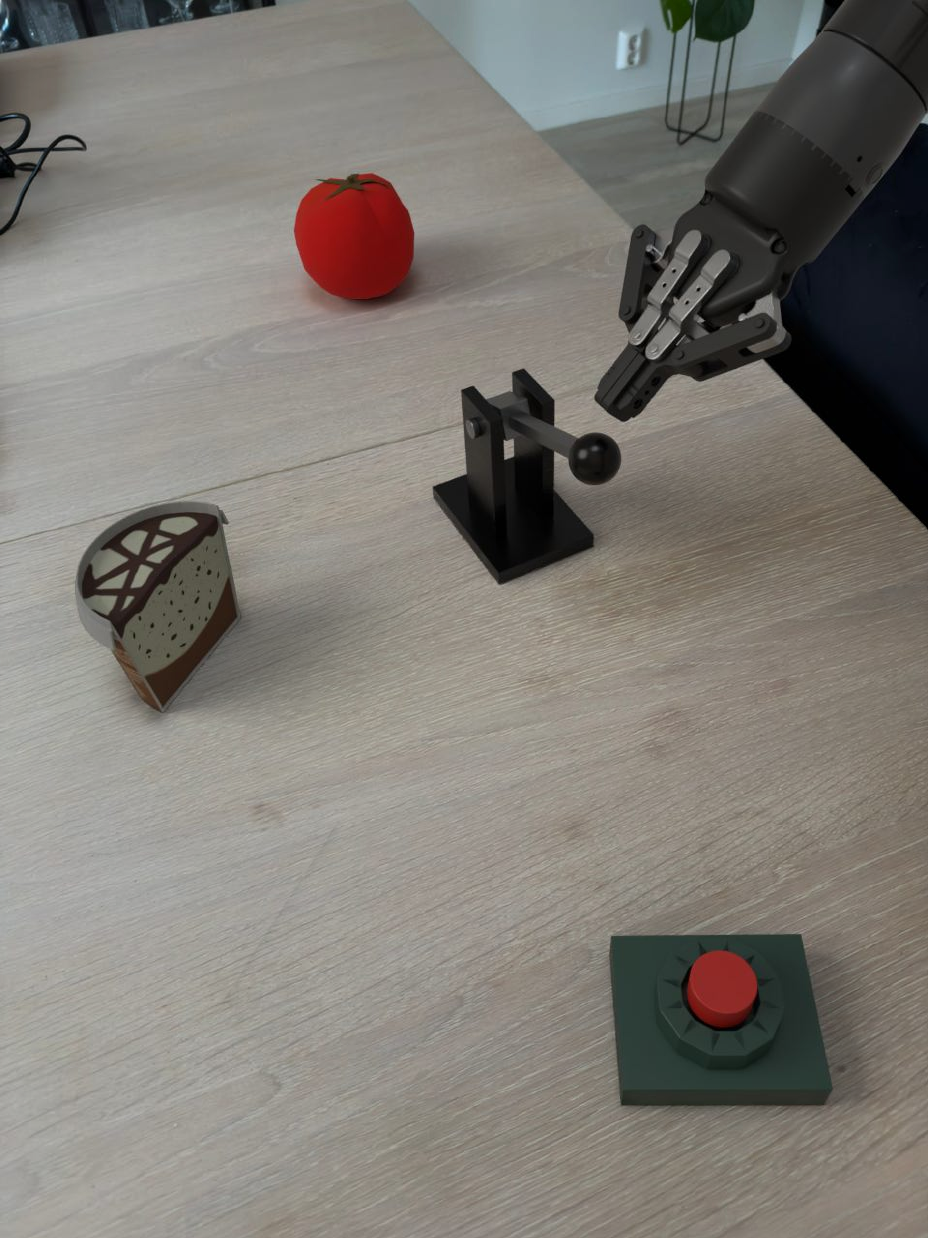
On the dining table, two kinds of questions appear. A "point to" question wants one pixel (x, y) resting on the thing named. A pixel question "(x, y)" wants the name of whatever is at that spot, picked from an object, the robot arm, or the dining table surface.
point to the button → (721, 989)
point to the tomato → (355, 236)
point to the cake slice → (159, 594)
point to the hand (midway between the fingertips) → (609, 411)
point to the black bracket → (510, 491)
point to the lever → (560, 440)
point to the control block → (704, 1054)
